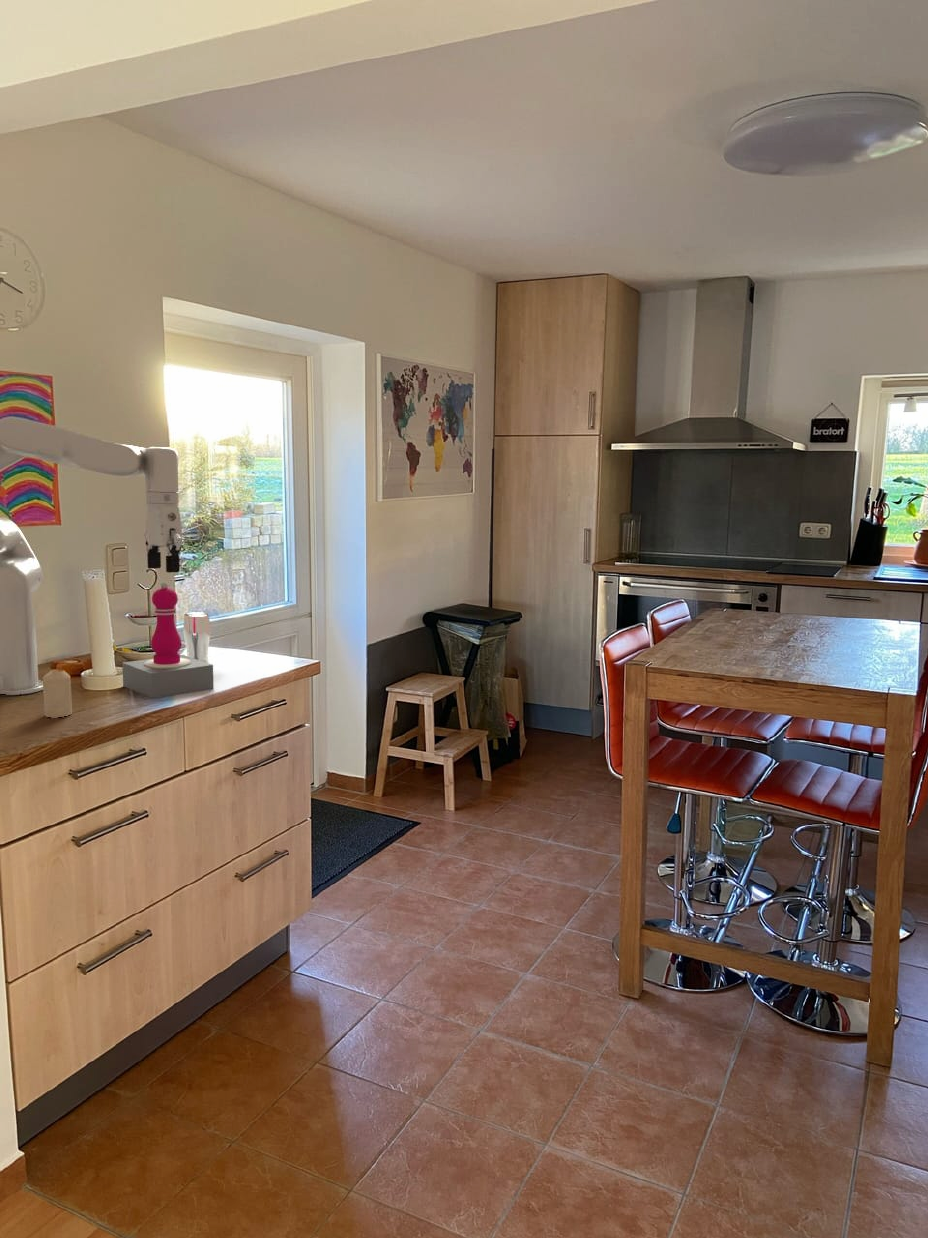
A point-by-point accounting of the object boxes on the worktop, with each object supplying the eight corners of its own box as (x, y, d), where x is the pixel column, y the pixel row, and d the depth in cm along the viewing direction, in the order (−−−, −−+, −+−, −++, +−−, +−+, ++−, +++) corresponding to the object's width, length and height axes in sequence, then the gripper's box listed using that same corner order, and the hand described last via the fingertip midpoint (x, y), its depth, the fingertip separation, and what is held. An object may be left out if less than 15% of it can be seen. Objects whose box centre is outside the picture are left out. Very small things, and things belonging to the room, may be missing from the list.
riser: (152, 698, 213) (151, 672, 212) (123, 686, 224) (122, 661, 223) (213, 688, 224) (213, 663, 223) (182, 677, 235) (182, 653, 234)
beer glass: (184, 671, 242) (182, 616, 239) (184, 666, 248) (183, 612, 246) (211, 670, 243) (209, 616, 241) (211, 665, 250) (209, 612, 248)
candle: (40, 714, 197) (38, 670, 196) (66, 710, 201) (64, 666, 199) (50, 720, 193) (47, 674, 192) (76, 715, 197) (74, 671, 196)
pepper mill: (172, 665, 219) (170, 584, 216) (145, 664, 220) (142, 583, 217) (187, 660, 226) (185, 581, 223) (161, 658, 227) (158, 579, 224)
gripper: (194, 501, 213) (194, 573, 216) (160, 498, 225) (161, 566, 228) (164, 501, 208) (165, 574, 211) (131, 497, 220) (133, 567, 223)
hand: (163, 570), depth 219 cm, fingers open, 9 cm apart
